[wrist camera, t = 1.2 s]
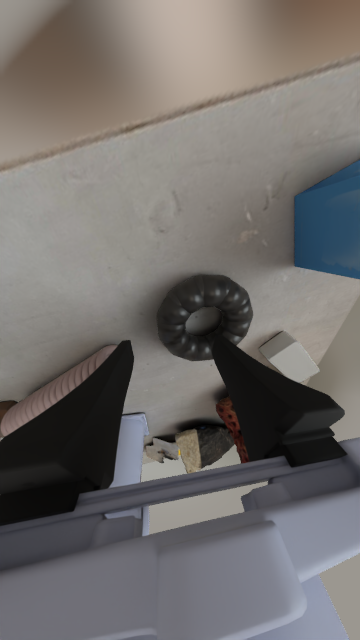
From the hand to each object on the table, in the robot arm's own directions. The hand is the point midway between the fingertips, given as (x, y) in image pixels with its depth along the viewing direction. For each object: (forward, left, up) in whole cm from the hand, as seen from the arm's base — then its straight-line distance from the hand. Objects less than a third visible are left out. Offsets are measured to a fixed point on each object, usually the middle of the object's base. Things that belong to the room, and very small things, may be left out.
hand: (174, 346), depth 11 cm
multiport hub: (-8, -19, -2) cm, 21 cm away
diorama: (-38, +3, -3) cm, 38 cm away
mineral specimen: (-32, -9, -5) cm, 34 cm away
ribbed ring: (0, -4, -3) cm, 5 cm away
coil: (-9, +13, -5) cm, 17 cm away
